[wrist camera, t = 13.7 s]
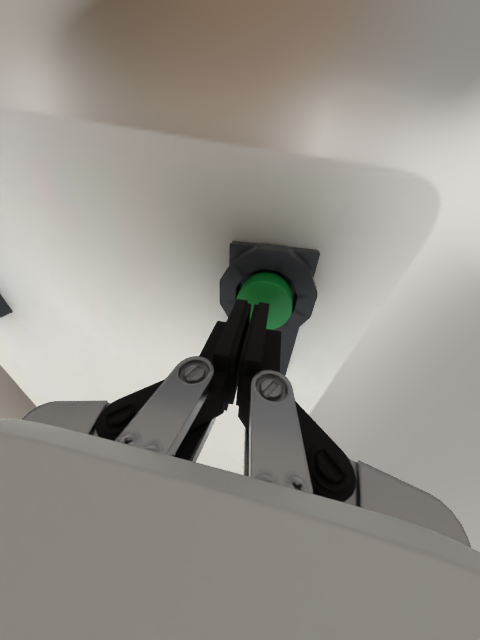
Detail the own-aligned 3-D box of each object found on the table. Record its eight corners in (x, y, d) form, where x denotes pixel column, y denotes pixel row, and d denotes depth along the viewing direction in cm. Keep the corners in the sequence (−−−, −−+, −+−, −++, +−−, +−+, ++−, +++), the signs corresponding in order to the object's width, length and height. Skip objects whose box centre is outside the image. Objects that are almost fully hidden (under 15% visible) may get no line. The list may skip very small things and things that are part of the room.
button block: (229, 236, 14) (219, 244, 12) (323, 246, 13) (329, 257, 11) (226, 357, 21) (220, 375, 19) (287, 369, 20) (287, 390, 18)
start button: (242, 268, 13) (236, 277, 12) (297, 275, 12) (298, 285, 11) (239, 314, 15) (234, 325, 14) (286, 322, 14) (286, 334, 13)
